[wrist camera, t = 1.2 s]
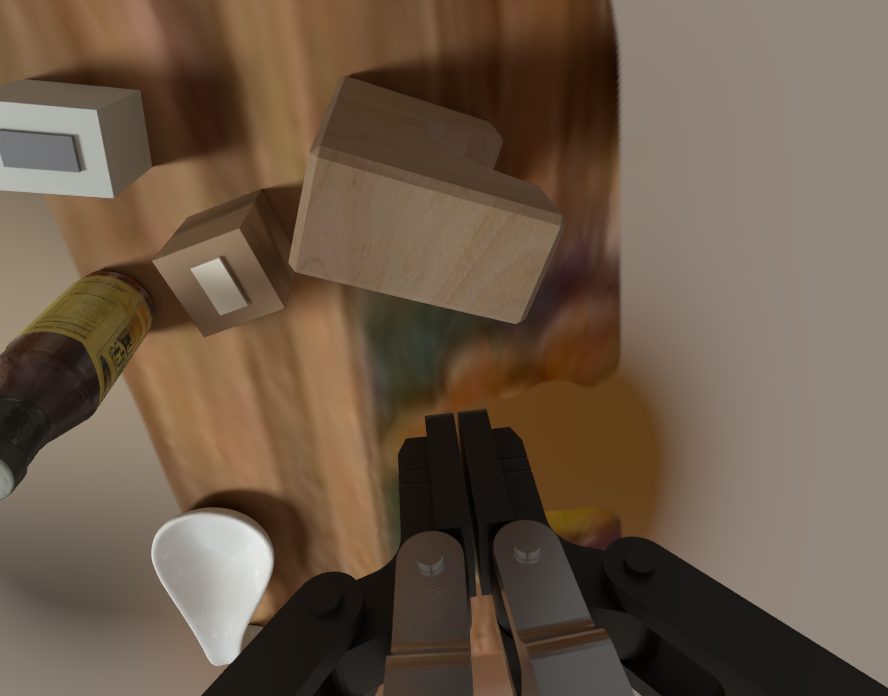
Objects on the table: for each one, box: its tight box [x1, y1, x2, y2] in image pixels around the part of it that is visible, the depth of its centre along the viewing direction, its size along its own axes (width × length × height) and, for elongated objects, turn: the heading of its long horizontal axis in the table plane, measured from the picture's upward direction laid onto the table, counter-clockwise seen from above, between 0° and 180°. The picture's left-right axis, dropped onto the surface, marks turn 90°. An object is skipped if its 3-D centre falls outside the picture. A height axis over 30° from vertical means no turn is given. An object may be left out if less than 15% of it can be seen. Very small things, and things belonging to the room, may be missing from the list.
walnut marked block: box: [152, 189, 296, 337], centre depth 41 cm, size 6×6×8 cm
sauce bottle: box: [0, 271, 154, 500], centre depth 37 cm, size 7×6×20 cm
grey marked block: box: [0, 79, 152, 198], centre depth 36 cm, size 5×7×7 cm
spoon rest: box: [151, 507, 274, 666], centre depth 61 cm, size 24×12×7 cm, turn 179°
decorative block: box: [288, 76, 566, 324], centre depth 33 cm, size 11×6×20 cm, turn 71°
